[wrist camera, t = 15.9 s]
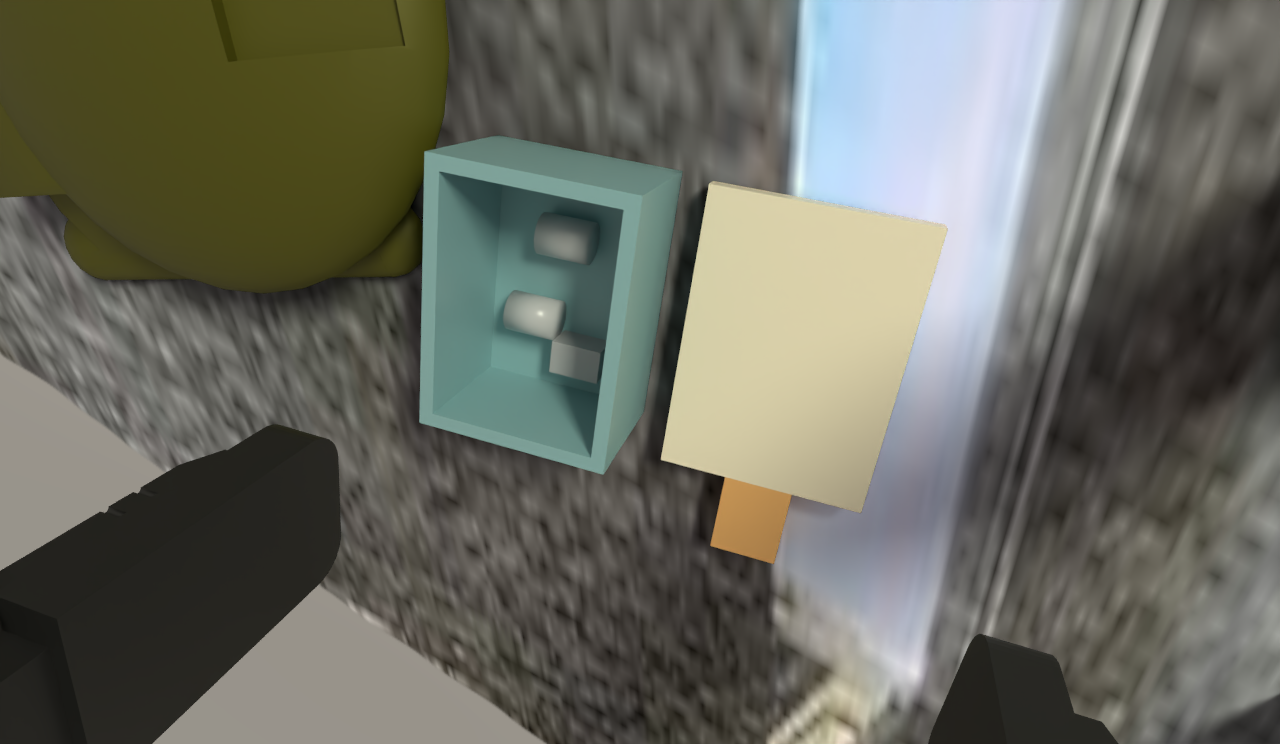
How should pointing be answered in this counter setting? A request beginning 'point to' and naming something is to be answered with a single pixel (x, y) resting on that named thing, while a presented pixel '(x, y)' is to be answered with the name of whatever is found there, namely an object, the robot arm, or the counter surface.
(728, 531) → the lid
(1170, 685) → the counter surface
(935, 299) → the counter surface
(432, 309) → the tub
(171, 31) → the spaceship
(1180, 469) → the counter surface
